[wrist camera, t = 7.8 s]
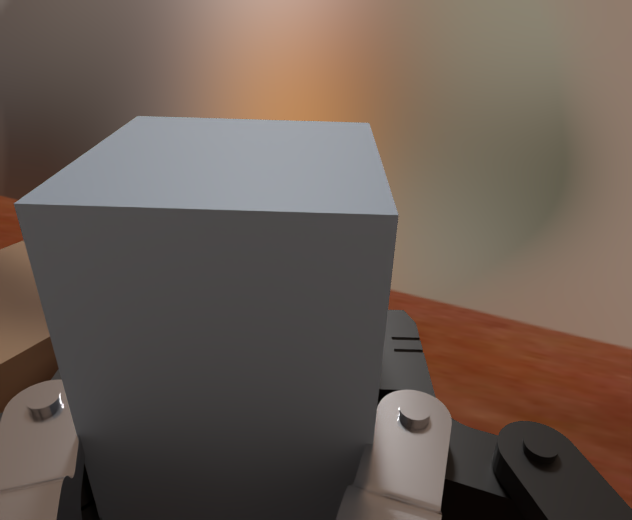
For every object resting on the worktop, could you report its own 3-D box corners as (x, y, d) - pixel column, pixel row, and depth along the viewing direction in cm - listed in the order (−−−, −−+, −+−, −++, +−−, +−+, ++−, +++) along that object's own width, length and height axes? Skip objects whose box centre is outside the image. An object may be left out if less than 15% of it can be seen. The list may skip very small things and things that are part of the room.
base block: (-4, 473, 18) (-41, 386, 16) (-114, 389, 22) (-154, 310, 20) (164, 351, 24) (153, 278, 22) (57, 301, 28) (39, 234, 26)
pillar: (344, 700, 12) (398, 215, 6) (147, 694, 12) (14, 203, 6) (339, 518, 16) (369, 122, 10) (192, 514, 16) (137, 116, 10)
